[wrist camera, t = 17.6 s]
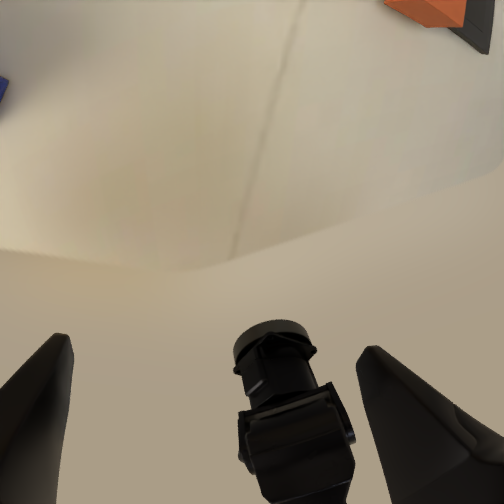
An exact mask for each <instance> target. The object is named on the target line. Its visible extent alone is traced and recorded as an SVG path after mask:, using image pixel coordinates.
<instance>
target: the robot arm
mask: <svg viewBox="0 0 504 504" xmlns="http://www.w3.org/2000/svg"><path fill="white" fill-rule="evenodd" d="M270 336H271V337H270ZM316 353H317V348H316V347H315V346H313V345H310V344H307V343H304V342H301V341H299V340H296V339H293V338H290V337H287V336H284V335H281V334H278V333H276V332H273V331H269V332H267V333H265V335H264V336H263V337H262V338H261V339H260V340H259V341H258V342H257V343H256V344H255V345H254V346H253V348H252V349H251V350H250V351H249V352H248V353H247V354H246V355H245V356H244V357H243V358H242V359H241V360H240V361H239V362H238V364H237V365H236V366H235V367H234V368H233V373H234V374H236V375H240V376H242V380H243V386H244V391H245V394H246V396H248V397H249V400H250V405H251V410H247V411H240V412H238V413H239V414H238V415H239V419H238V436H239V453H238V458H239V460H240V461H241V462H243V463H245V465H246V467H247V469H248V471H249V472H250V473H251V474H252V475H256V477H257V480H258V483H259V486H260V489H261V493H262V495H263V497H264V498H265V499H266V500H267V501H268V502H269V503H271V504H347V503H346V497H347V494H348V491H349V487H350V483H351V480H352V478H353V474H354V469H355V460H354V457H353V454H352V451H351V448H350V445H351V444H354V443H356V438H355V434H354V431H353V428H352V425H351V422H350V419H349V417H348V415H347V412H346V410H345V408H344V406H343V404H342V402H341V400H340V398H339V396H338V394H337V392H336V390H335V388H334V386H333V384H332V382H329V383H326V385H323V386H321V387H318V384H317V382H316V379H315V377H314V374H313V372H312V369H311V366H310V364H309V361H308V360H309V359H311V358H312V357H313V356H314V354H316ZM73 365H74V353H73V349H72V345H71V341H70V337H69V336H68V335H67V334H62V333H54V334H53V335H52V336H51V337H50V338H49V339H48V340H47V341H46V342H45V343H44V344H43V345H42V346H41V347H40V348H39V349H38V350H37V351H36V352H35V353H34V354H33V355H32V356H31V357H30V358H29V359H28V360H27V361H26V362H25V363H24V364H23V365H22V366H21V367H20V368H19V369H18V370H17V371H16V372H15V374H14V375H13V376H12V377H11V378H10V379H9V380H8V381H7V382H6V383H5V384H4V385H3V386H2V388H1V389H0V504H56V497H57V486H58V477H59V468H60V459H61V453H62V446H63V440H64V434H65V428H66V422H67V417H68V411H69V404H70V393H71V383H72V373H73ZM356 372H357V376H358V381H359V386H360V390H361V395H362V400H363V404H364V408H365V411H366V415H367V418H368V421H369V425H370V428H371V431H372V434H373V437H374V441H375V444H376V448H377V451H378V454H379V458H380V461H381V465H382V468H383V472H384V475H385V479H386V483H387V486H388V490H389V494H390V498H391V502H392V504H504V437H502V436H500V435H499V434H497V433H496V432H494V431H493V430H491V429H490V428H488V427H486V426H485V425H483V424H481V423H480V422H479V421H477V420H476V419H474V418H473V417H471V416H470V415H469V414H467V413H466V412H464V411H463V410H461V409H460V408H459V407H458V406H457V405H455V404H453V402H451V401H450V400H449V399H447V398H446V397H445V396H443V395H442V394H441V393H439V392H438V391H437V390H436V389H434V388H433V387H432V386H431V385H429V384H428V383H427V382H425V381H424V380H423V379H421V378H420V377H419V376H417V375H416V374H415V373H414V372H412V371H411V370H410V369H408V368H407V367H406V366H404V365H403V364H402V363H400V362H399V361H398V360H397V359H395V358H394V357H392V356H391V355H390V354H389V353H387V352H386V351H385V350H383V349H382V348H381V347H379V346H377V345H375V346H367V347H366V348H365V349H364V351H363V353H362V354H361V356H360V357H359V359H358V361H357V363H356Z"/></svg>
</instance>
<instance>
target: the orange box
mask: <svg viewBox="0 0 504 504" xmlns="http://www.w3.org/2000/svg"><path fill="white" fill-rule="evenodd" d="M466 1H467V0H385V1H384V4H386V5H388V6H389V7H391V8H393V9H395V10H397V11H399V12H401V13H402V14H404V15H406V16H408V17H409V18H411V19H413V20H415V21H416V22H418V23H420V24H421V25H423V26H424V27H426V28H430V27H463V22H464V16H465V9H466Z"/></svg>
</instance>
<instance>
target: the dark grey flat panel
mask: <svg viewBox="0 0 504 504" xmlns="http://www.w3.org/2000/svg"><path fill="white" fill-rule="evenodd" d="M494 6H495V0H467V1H466V9H465V16H464V22H463V27H448V28H449V29H450V30H452V31H453V32H455V33H456V34H457V35H459V36H460V37H461V38H463V39H464V40H465V41H466V42H468V43H469V44H470V45H472V46H473V47H474V48H475V49H477V50H478V51H479V52H480V53H481V54H487V55H488V54H489V48H490V41H491V34H492V26H493V17H494Z"/></svg>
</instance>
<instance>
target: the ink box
mask: <svg viewBox="0 0 504 504" xmlns="http://www.w3.org/2000/svg"><path fill="white" fill-rule="evenodd" d="M8 83H9V81H8V80H6V79H4V78H2V77H0V101H1V99H2V97H3V94H4V92H5V90H6V88H7V86H8Z"/></svg>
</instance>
